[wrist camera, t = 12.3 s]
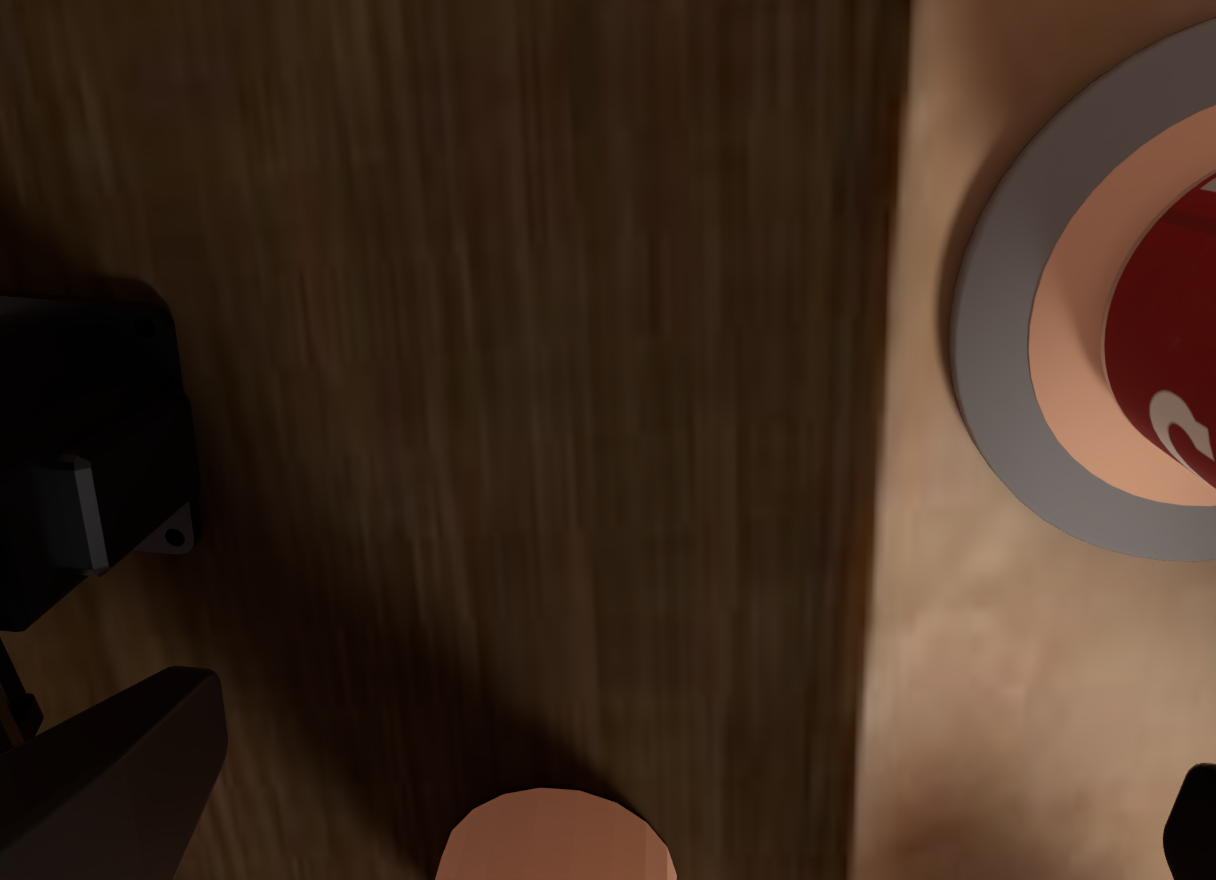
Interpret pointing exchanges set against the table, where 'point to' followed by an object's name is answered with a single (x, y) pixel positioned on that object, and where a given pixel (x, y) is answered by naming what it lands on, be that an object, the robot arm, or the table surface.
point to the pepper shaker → (554, 841)
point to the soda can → (1169, 331)
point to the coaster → (1084, 304)
